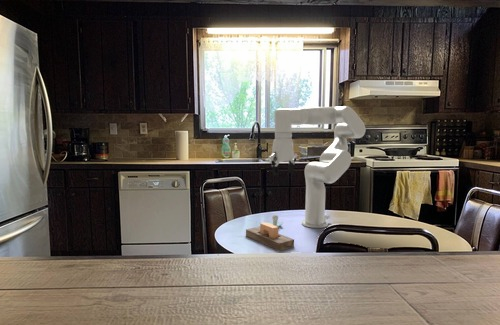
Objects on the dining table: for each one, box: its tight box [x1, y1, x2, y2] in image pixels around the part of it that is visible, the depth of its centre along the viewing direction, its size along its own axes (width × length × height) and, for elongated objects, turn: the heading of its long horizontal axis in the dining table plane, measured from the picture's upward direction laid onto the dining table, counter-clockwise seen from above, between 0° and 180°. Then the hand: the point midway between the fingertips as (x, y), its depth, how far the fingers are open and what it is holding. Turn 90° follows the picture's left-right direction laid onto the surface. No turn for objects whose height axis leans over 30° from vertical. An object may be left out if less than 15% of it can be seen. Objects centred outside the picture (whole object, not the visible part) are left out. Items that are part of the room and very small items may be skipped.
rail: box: [245, 226, 295, 251], centre depth 141 cm, size 8×22×3 cm, turn 37°
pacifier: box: [267, 214, 284, 228], centre depth 162 cm, size 7×6×6 cm
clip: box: [259, 221, 279, 238], centre depth 140 cm, size 3×8×7 cm, turn 37°
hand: (283, 173), depth 152 cm, fingers open, 9 cm apart
